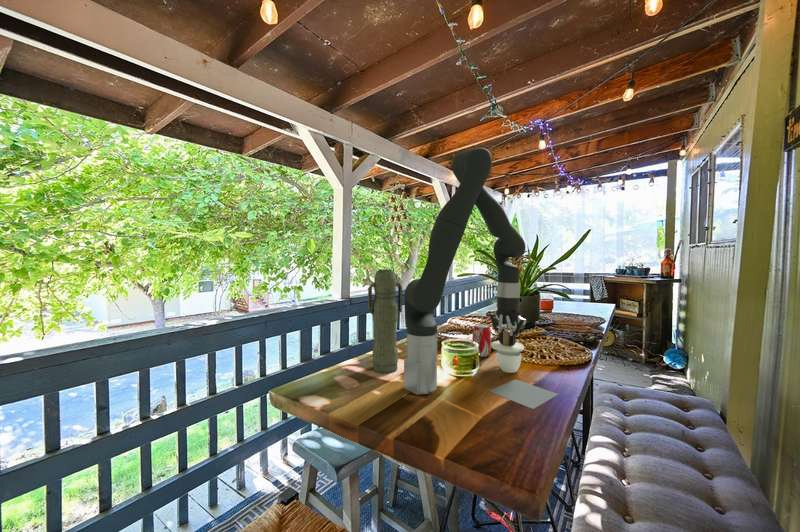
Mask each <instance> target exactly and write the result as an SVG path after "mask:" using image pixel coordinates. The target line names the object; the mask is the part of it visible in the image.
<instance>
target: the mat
mask: <svg viewBox="0 0 800 532" xmlns="http://www.w3.org/2000/svg"><path fill="white" fill-rule="evenodd" d="M488 392H489V393H491V394H494V395H497V396H499V397H501V398H504V399H507V400H509V401H512V402H514V403H517V404H520V405H522V406H524V407H527V408H529V409H532V410H534V409H536V408H537V407H539V406H541V405H543V404H545V403H546V402H548V401H550V400H551V399H554V398H556V396H559V393H556V392H553V391H550V390H547V389H545V388H541V387H539V386H535V385H533V384H530V383H527V382H524V381H521V380H519V379H512V380H511V381H510V380H509V382H505V383H504V384H502V385H499V386H496V387H495V388H493V389H491V390H488Z"/></svg>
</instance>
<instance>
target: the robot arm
mask: <svg viewBox="0 0 800 532" xmlns="http://www.w3.org/2000/svg"><path fill="white" fill-rule="evenodd" d="M492 166H493V157H492V155H491V152H490V151H489V150H488V149H486V148H484V147H475V148H470V149H466V150H464V151H460V152H458V153H456V154H455V155H454V156H453V159H452V162H451V169H452V172H453V174H454V177H455V179H456V180H457V181H458V182H459V185H458V187H457V188H456V191H455V192H454V193H453V195H452V196H451V197H450V198H449V199H448V201H447V202H446V203H445V204H444V205H443V207H442V208H441V210H440V211H439V212H438V215H437V216H436V219H435V221H434V223H433V226H432V229H431V232H430V235H429V241H428V251H427V252H428V253H427V260H426V263H425V266H424V269H423V271H422V273H421V276H420V277H419V278H416V279H413V280H411V281H409V283H408V284H407V285H406V287H405V290H404V321H405V325H406V357H404V358H403V389H404V390H406V391H408V392H410V393H412V394H414V395H416V396H418V395H429V394H432V393H433V392H434V391H435V390H437V387H438V385H437V383H438V381H437V380H438V324H437V323H438V322H437V321H436V319H435V316H434V314H435V313H434V310H435V309H436V308H438V307H439V305H440V303H441V301H442V298H443V294H444V290H445V286H446V282H447V279H448V276H449V273H450V269H451V266H452V264H453V261H454V259H455V256H456V254H457V251H458V249H459V247H460V244H461V241H462V239H463V236H464V233H465V231H466V228H467V226H468V223H469V220H470V217H471V215H472V212H473V210H474V209H475V208H474V207H476V208H477V210H478V211H479V214H480V215H481V216H482V217H481V218H483V219H482V220H483V221H484V223H485V225H486V227H487V229H488V231H489V233H490V234H491V236H492V237H495V238H497V239H496V240H495V242H494V244H493V255H494V259H495V264H496V267H497V286H496V308H497V309H496V312H493V313H489V318H490V321H491V324H492V326H493V327H492V328H493V329H494V331H496V332H497V333H498V341H499V342H500V344H503V330H506V328H508V329H507V330H509V332H510V335H509V346H514V344H515V343H516V339H517V335H521V334H522V332H523V331H524V328H525V326H526V324H527V322H528V320H527V318H523V317H521V314H520V313H519V312H520V299H521V298H520V297H521V296H520V295H521V289H520V267H519V266H518V265H516V264H512V262H511V258H512V259H518V258H521V257H523V256H524V254H525V252H526V247H527V246H526V243H525V240H524V238H523V236H522V235H521V234H520V233H519V232H518V231H517V230H516V228H515V226H513V225H512V224H511V222H510V219H509V218H508V216H507V214H506V210H505V209H504V208H503V206H502V205H501V204H500V202H499V201H498V200H497V199H496V198H495V197H494V196H493V195H492V194H491V193H490V192H489V191H488V190H487V188H486V187H485V186H484V185H485V183H486V182H487V179H488V177H489V175H490V173H491V170H492ZM517 323H518V324H517Z"/></svg>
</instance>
